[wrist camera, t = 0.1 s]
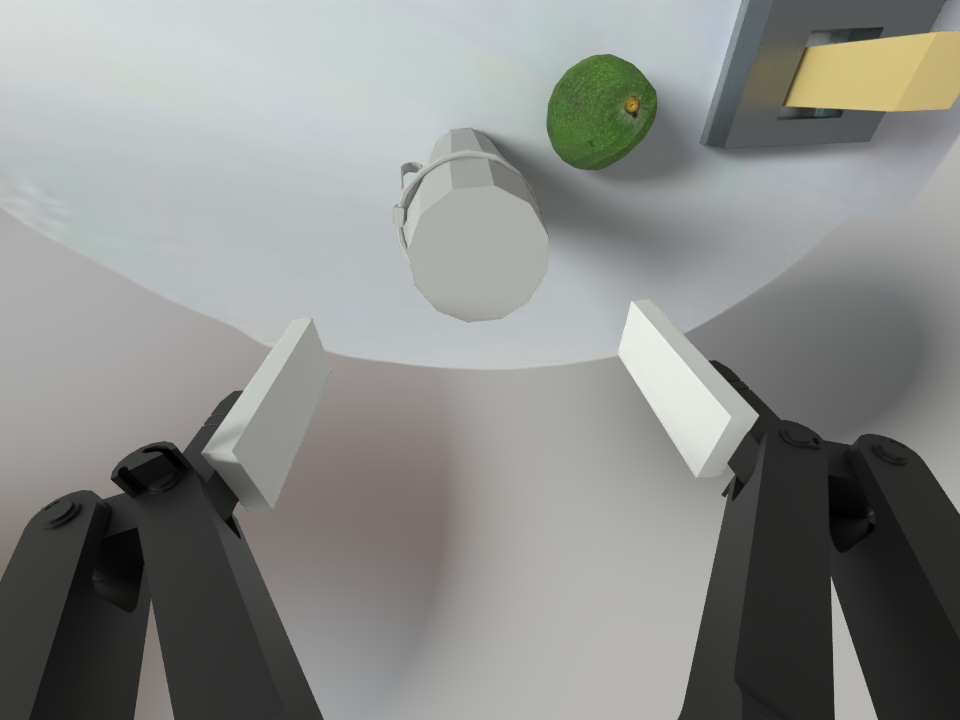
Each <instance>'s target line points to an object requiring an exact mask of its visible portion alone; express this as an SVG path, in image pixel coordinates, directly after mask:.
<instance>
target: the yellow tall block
mask: <svg viewBox="0 0 960 720" xmlns="http://www.w3.org/2000/svg"><path fill="white" fill-rule="evenodd" d="M959 93H960V31H949V32H933V33H924V34H916V35H907V36H899V37H890V38H882V39H873V40H865V41H856V42H848V43H839V44H831V45H822V46H814V47H805V49H804V51H803V54H802V56H801V59H800V61H799V64H798V66H797V69H796V71H795V74H794V77H793V79H792V82H791V84H790V87H789V89H788V92H787V94H786V97H785V99H784V102H783V105H782V106H794V107H813V108H833V109H853V110H873V111H893V112H894V111H916V110H938V109H950V108H951V106H952V104H953V103H954V101H955V100H956V98H957V96H958V95H959Z"/></svg>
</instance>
